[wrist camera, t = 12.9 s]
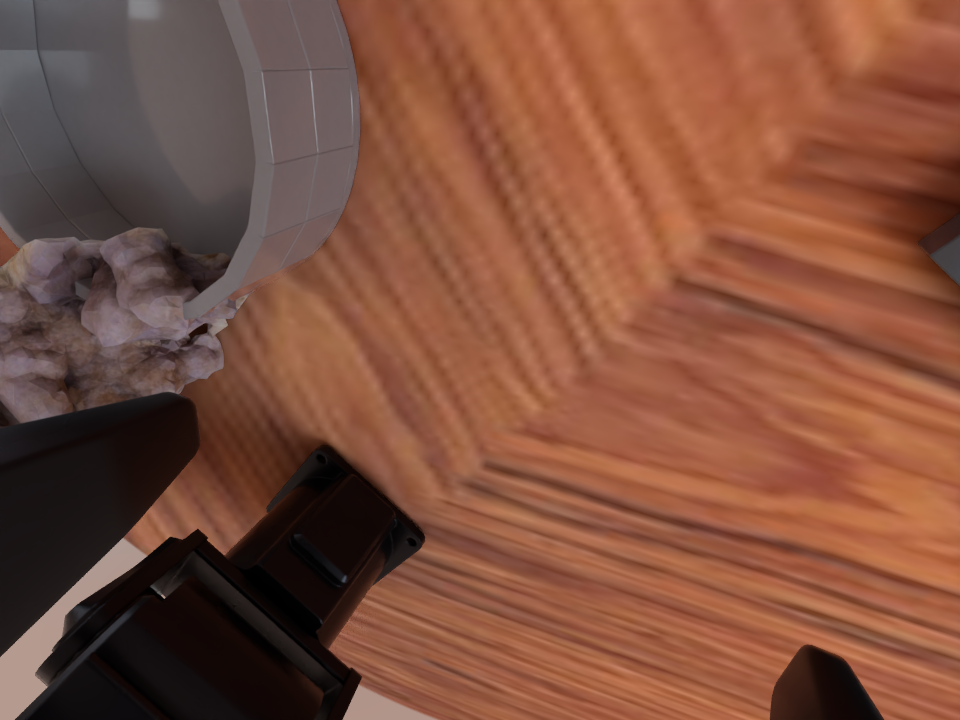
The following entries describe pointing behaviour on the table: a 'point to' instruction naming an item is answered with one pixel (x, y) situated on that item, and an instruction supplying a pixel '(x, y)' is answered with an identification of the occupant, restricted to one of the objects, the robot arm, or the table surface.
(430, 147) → the table surface
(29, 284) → the mineral specimen
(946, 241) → the slate board
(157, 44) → the pan
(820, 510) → the table surface
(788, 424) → the table surface
